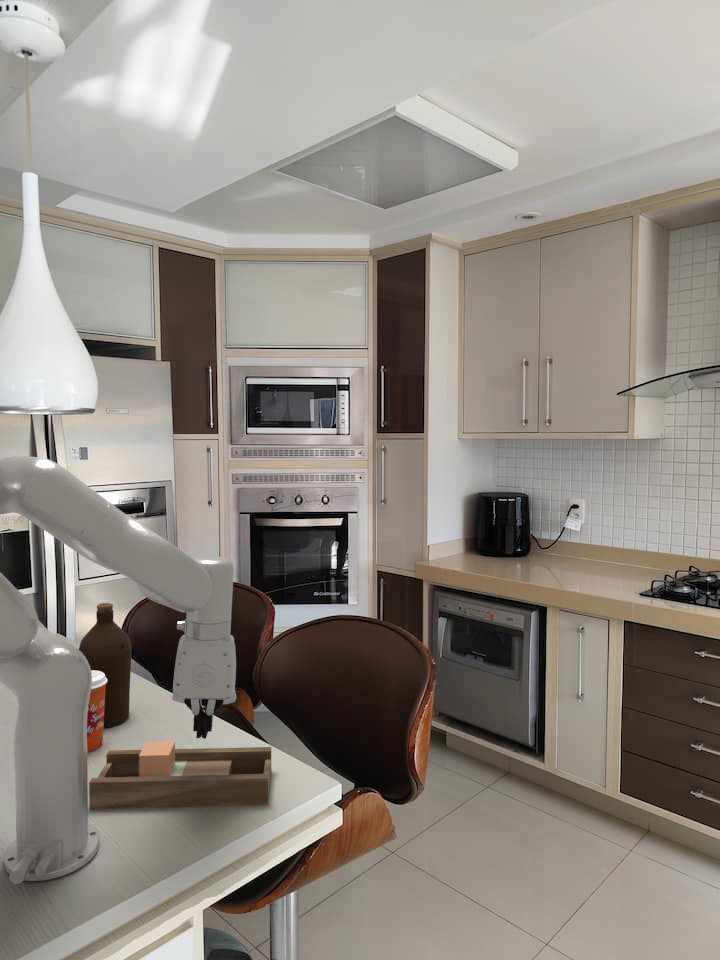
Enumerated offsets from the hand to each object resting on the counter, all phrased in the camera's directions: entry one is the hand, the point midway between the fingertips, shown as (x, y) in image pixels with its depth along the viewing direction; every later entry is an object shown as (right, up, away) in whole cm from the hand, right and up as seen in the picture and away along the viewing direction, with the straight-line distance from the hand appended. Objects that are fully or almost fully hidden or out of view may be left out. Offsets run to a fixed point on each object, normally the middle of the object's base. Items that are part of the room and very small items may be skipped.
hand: (202, 734), depth 114 cm
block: (-8, -7, +2) cm, 11 cm away
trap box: (-3, -10, +1) cm, 10 cm away
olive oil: (-28, -8, +28) cm, 40 cm away
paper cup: (-27, -9, +16) cm, 32 cm away
